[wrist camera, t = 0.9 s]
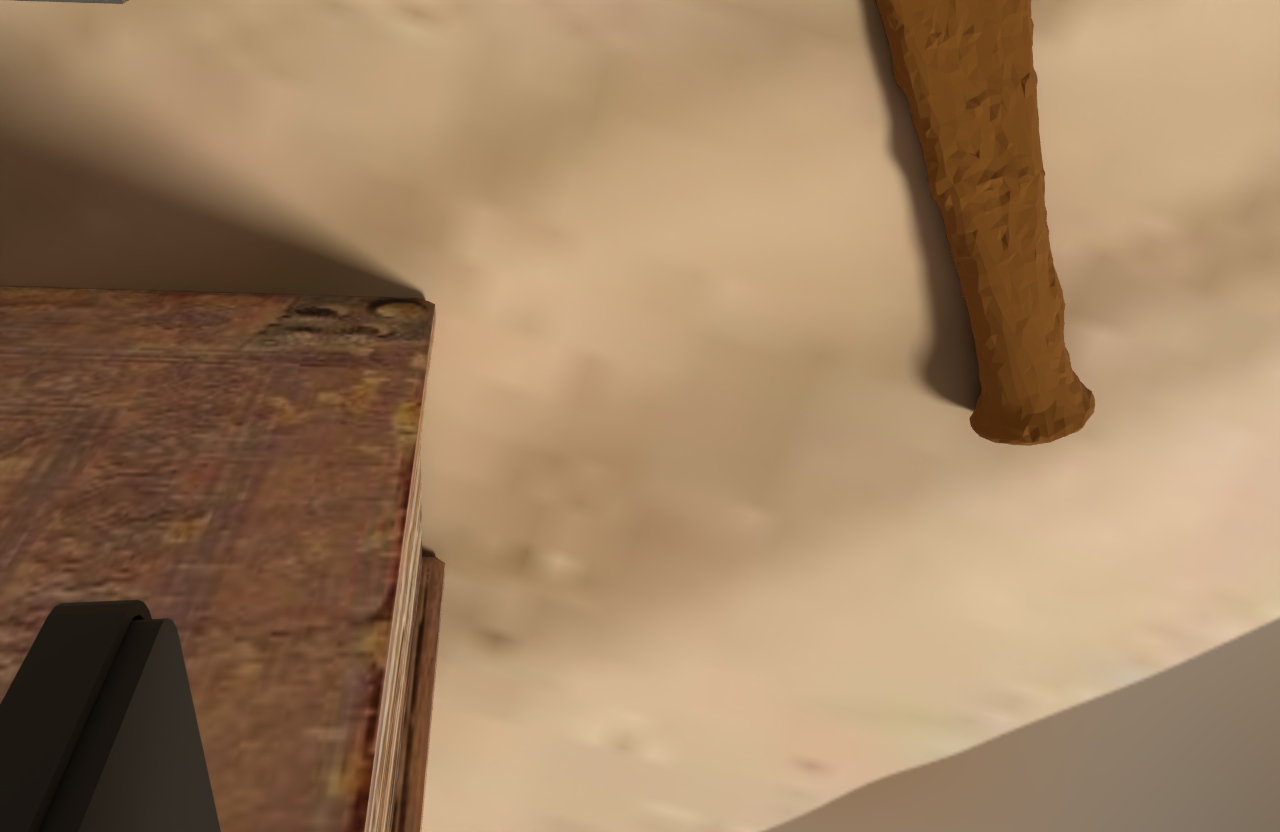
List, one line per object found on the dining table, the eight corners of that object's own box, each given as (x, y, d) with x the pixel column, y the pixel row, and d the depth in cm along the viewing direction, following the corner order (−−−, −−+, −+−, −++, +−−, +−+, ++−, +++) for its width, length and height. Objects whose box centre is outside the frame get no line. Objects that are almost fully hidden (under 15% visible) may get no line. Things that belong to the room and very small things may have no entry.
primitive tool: (791, -226, 29) (827, -226, 26) (1010, -313, 29) (1073, -324, 26) (957, 425, 38) (998, 483, 35) (1125, 366, 38) (1182, 419, 35)
